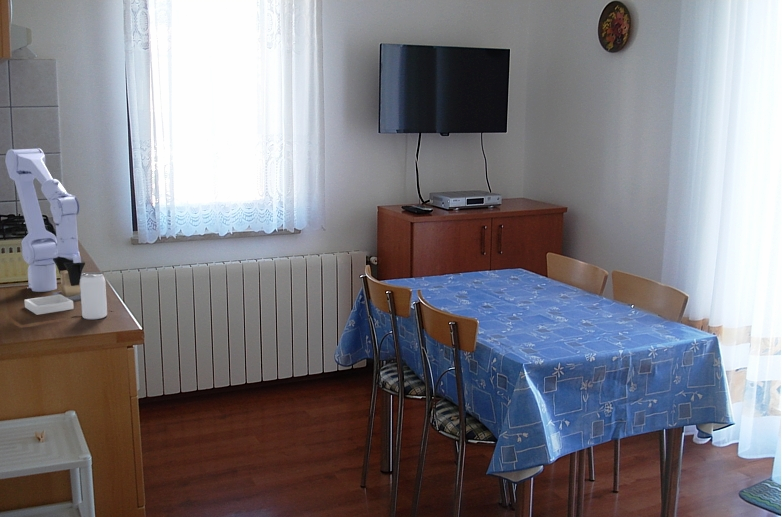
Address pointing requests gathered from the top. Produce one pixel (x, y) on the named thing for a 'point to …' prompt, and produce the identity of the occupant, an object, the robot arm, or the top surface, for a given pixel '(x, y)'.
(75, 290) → the peg
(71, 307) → the bin tray
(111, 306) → the top surface
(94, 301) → the can
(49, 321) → the top surface
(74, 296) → the stud socket
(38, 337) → the top surface
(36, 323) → the top surface
